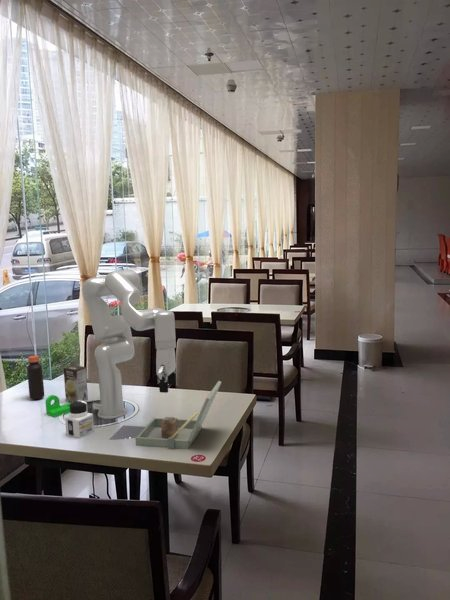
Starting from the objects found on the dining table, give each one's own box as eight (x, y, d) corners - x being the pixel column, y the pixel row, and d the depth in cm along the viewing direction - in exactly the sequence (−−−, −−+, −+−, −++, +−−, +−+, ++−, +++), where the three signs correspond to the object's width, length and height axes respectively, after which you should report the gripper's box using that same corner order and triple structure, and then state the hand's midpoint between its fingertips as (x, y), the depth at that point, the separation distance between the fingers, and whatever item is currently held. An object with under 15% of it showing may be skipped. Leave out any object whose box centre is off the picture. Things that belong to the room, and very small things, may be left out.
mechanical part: (53, 417, 227) (51, 399, 226) (46, 414, 231) (45, 396, 230) (78, 409, 236) (76, 392, 234) (71, 406, 240) (69, 389, 239)
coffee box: (65, 400, 247) (62, 367, 245) (75, 396, 253) (73, 364, 250) (78, 404, 242) (76, 370, 240) (89, 399, 248) (86, 366, 245)
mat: (108, 440, 201) (108, 439, 201) (123, 426, 214) (123, 425, 214) (136, 442, 198) (136, 441, 198) (148, 427, 212) (148, 426, 212)
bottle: (41, 399, 251) (38, 358, 248) (27, 399, 251) (23, 358, 248) (46, 394, 257) (43, 354, 254) (32, 394, 257) (29, 355, 254)
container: (79, 439, 203) (77, 407, 201) (66, 435, 207) (63, 403, 205) (94, 432, 209) (92, 400, 207) (80, 428, 213) (78, 397, 211)
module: (161, 439, 200) (160, 420, 199) (166, 434, 205) (165, 416, 204) (174, 440, 199) (173, 421, 198) (178, 435, 204) (177, 416, 203)
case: (134, 448, 193) (131, 395, 190) (154, 426, 214) (151, 378, 211) (210, 453, 187) (208, 399, 184) (223, 429, 208) (221, 380, 205)
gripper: (163, 338, 205) (165, 381, 208) (148, 349, 189) (150, 395, 191) (181, 338, 204) (184, 381, 206) (168, 349, 187) (170, 396, 190)
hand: (168, 388), depth 199 cm, fingers open, 9 cm apart
